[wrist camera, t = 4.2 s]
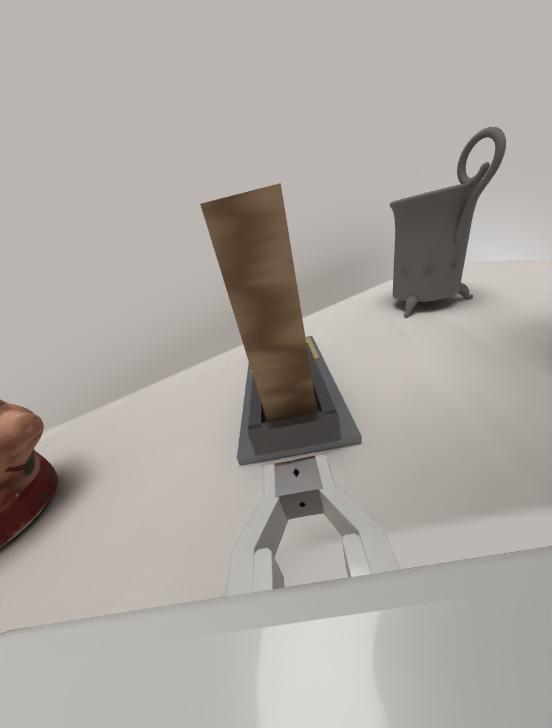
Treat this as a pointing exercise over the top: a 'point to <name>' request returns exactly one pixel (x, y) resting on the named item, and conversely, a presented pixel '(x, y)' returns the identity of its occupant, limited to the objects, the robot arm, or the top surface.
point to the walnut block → (264, 296)
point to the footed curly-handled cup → (439, 232)
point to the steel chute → (297, 420)
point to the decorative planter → (21, 471)
